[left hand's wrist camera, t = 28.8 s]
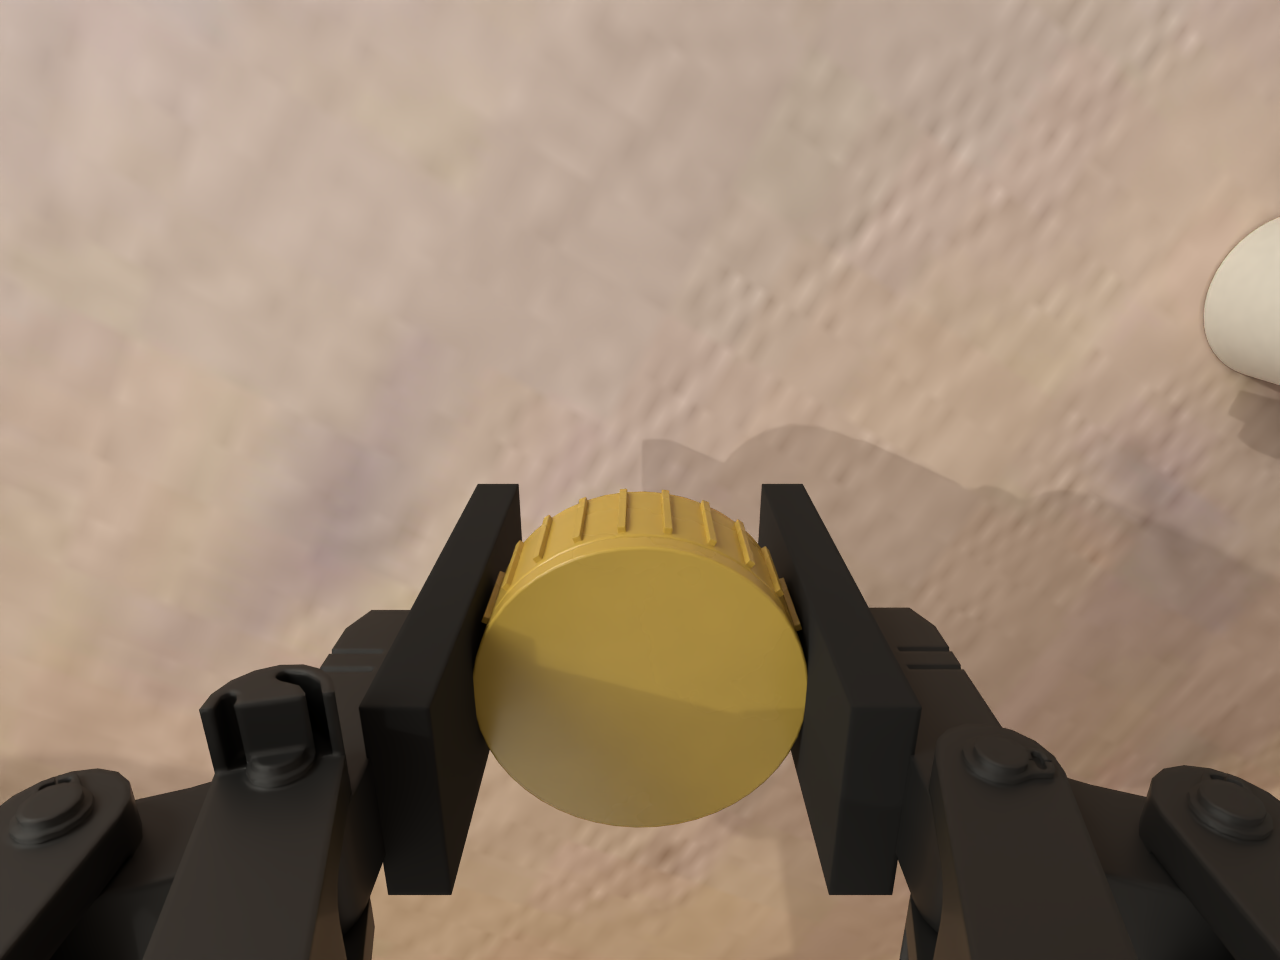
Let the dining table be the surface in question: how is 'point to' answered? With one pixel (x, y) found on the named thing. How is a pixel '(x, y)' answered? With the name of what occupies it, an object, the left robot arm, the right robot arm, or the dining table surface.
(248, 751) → the left robot arm
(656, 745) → the lid
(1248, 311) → the cream cylinder
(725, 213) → the dining table surface
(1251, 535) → the dining table surface
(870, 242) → the dining table surface
